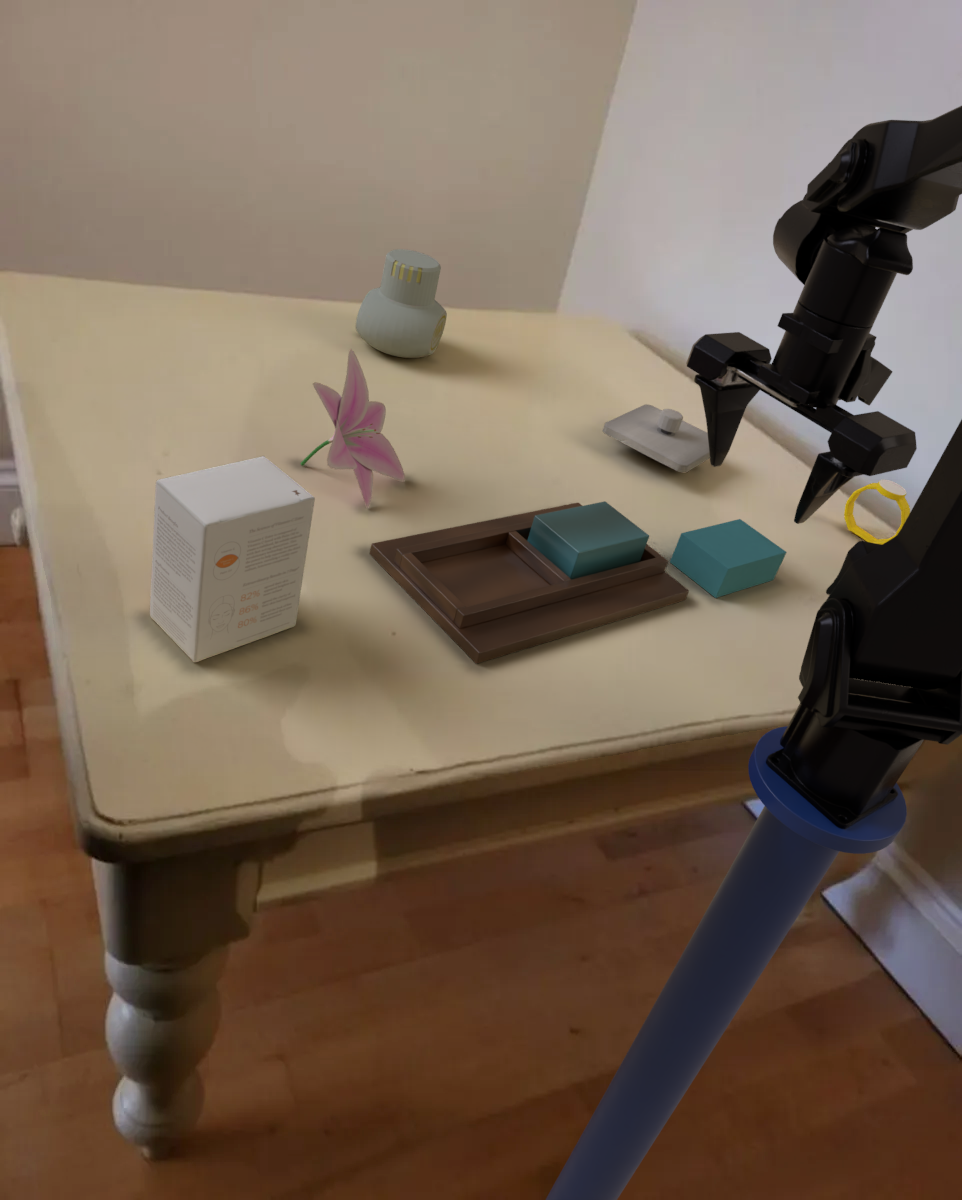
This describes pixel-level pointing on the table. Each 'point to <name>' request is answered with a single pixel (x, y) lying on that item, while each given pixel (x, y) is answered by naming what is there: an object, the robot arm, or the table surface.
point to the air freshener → (404, 307)
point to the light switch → (661, 437)
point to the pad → (727, 557)
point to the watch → (885, 489)
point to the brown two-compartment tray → (530, 576)
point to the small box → (228, 555)
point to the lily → (358, 431)
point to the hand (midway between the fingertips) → (756, 493)
